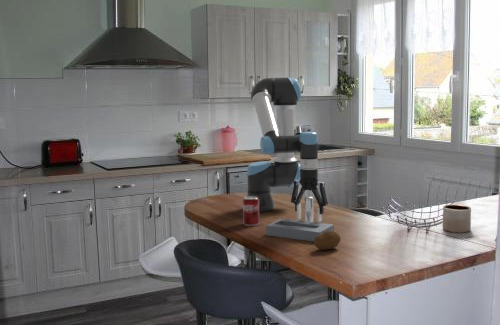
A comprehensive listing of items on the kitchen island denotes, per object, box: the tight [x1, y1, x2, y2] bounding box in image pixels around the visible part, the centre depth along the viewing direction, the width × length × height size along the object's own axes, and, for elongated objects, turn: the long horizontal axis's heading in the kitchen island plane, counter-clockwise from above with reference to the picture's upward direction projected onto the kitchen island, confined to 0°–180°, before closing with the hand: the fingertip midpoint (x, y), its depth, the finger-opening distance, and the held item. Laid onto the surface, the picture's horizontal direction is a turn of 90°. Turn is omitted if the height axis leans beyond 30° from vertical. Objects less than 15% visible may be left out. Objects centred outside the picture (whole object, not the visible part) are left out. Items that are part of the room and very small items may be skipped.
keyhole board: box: [265, 218, 335, 243], centre depth 223 cm, size 24×14×4 cm, turn 58°
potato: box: [313, 230, 341, 251], centre depth 202 cm, size 7×12×7 cm, turn 127°
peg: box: [304, 196, 314, 222], centre depth 234 cm, size 4×4×13 cm
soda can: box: [242, 196, 261, 227], centre depth 242 cm, size 7×7×12 cm
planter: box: [442, 204, 472, 234], centre depth 225 cm, size 11×11×10 cm
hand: (309, 220), depth 235 cm, fingers open, 9 cm apart
